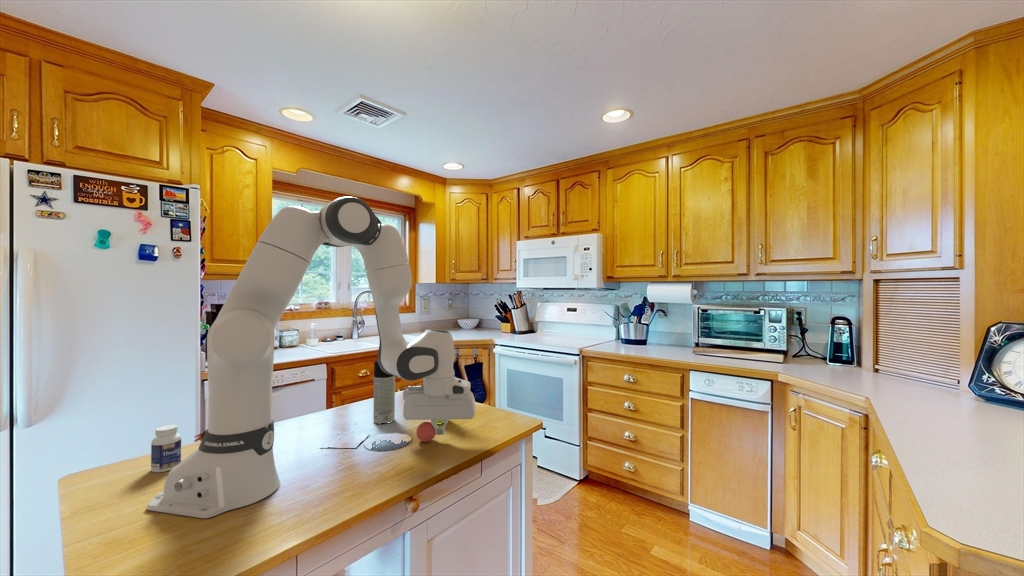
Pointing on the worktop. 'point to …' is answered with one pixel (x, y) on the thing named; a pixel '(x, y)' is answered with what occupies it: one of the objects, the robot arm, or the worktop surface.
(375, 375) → the spray can
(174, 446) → the pill bottle
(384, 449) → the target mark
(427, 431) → the ball
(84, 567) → the worktop surface
